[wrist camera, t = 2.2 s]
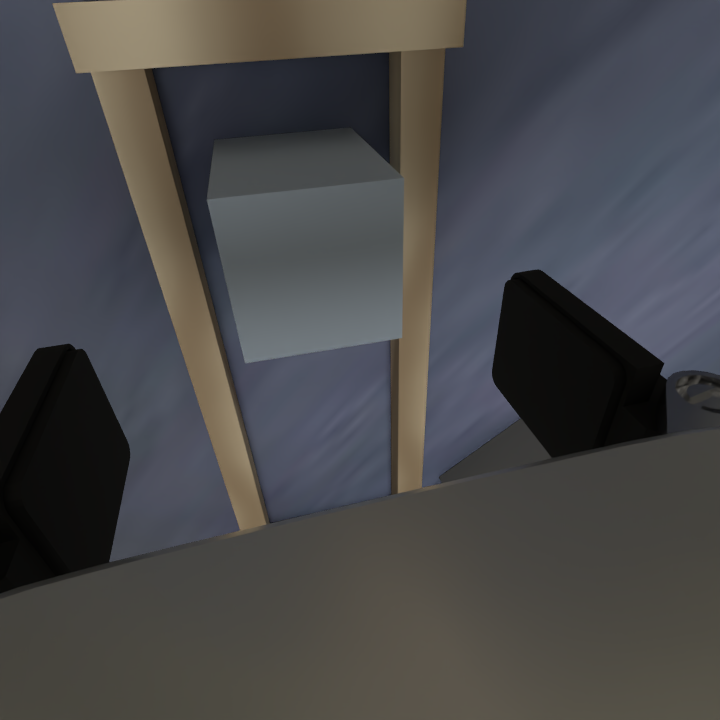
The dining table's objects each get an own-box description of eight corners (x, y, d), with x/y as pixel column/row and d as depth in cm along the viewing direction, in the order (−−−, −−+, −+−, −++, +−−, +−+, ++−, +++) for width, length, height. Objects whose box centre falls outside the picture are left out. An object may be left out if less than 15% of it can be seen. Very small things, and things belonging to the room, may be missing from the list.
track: (432, -12, 16) (499, -21, 12) (412, 507, 33) (437, 575, 29) (82, 5, 14) (25, 1, 10) (250, 542, 31) (253, 619, 27)
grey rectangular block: (350, 127, 18) (403, 178, 12) (356, 252, 21) (401, 338, 15) (214, 139, 17) (206, 199, 12) (241, 267, 20) (244, 363, 15)
